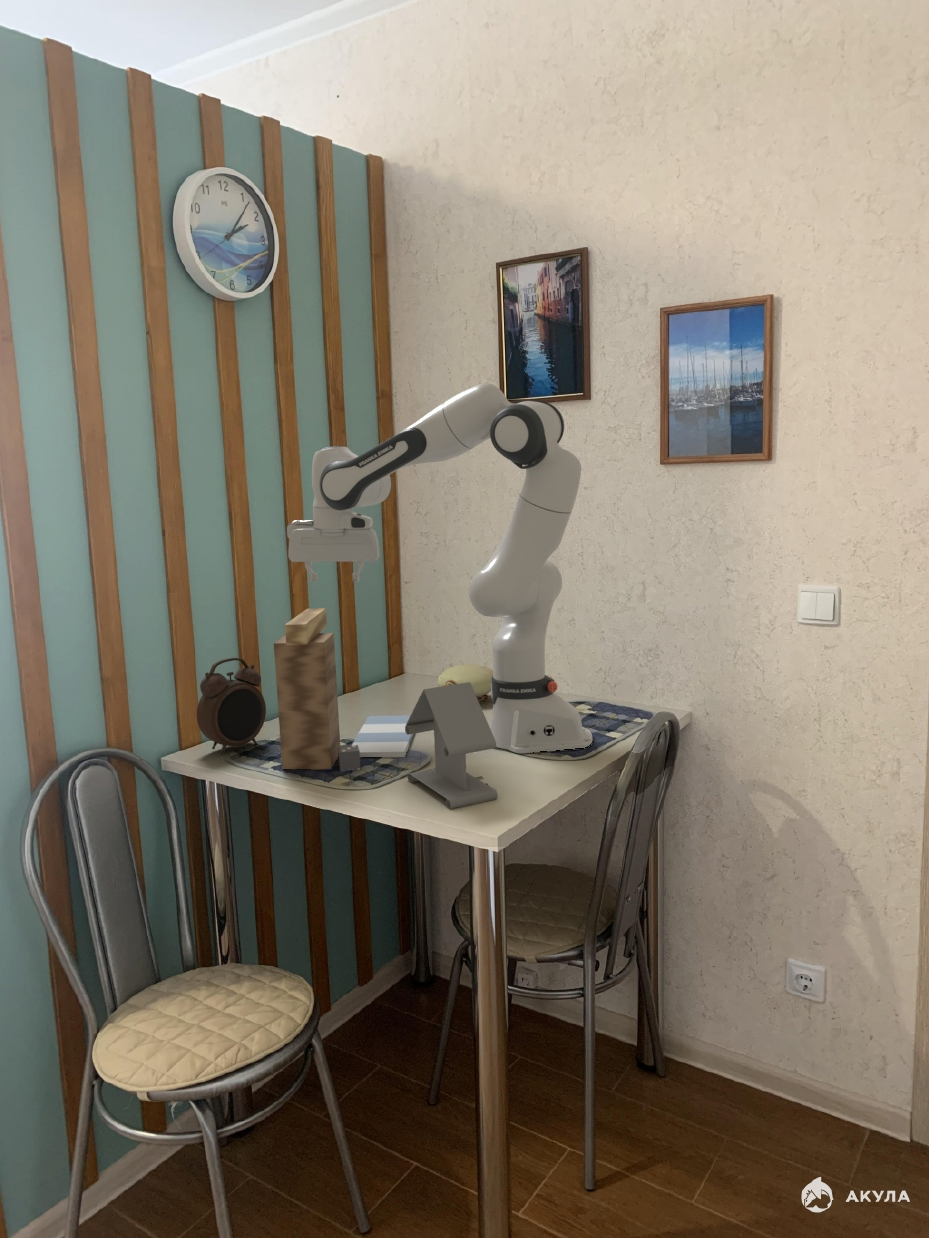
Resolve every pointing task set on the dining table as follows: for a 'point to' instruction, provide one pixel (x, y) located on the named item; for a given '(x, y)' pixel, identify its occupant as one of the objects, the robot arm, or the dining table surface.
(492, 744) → the phone stand
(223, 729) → the alarm clock
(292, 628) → the light wooden block
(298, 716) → the walnut stand
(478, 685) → the flask
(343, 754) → the die
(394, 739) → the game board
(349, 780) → the dining table surface
